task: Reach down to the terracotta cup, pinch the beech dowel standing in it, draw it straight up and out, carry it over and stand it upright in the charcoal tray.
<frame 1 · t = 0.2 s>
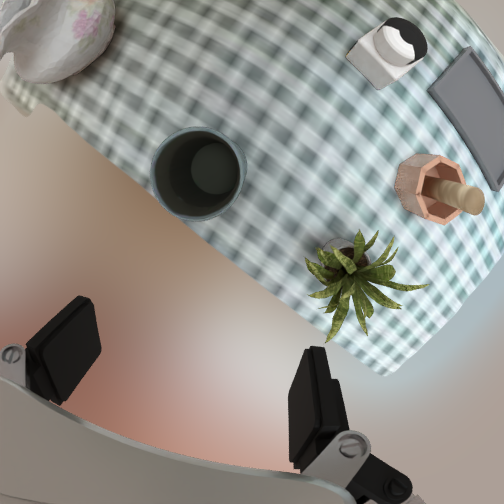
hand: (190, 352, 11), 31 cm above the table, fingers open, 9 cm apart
blue-grey plant pot: (217, 168, 38), on the table
medicine bottle: (375, 62, 31), on the table
dowel: (422, 185, 35), point 1 cm above the table, touching cup
cup: (419, 184, 36), on the table
tray: (483, 117, 30), on the table
ceramic pitcher: (88, 37, 31), on the table
house plant: (344, 248, 41), on the table
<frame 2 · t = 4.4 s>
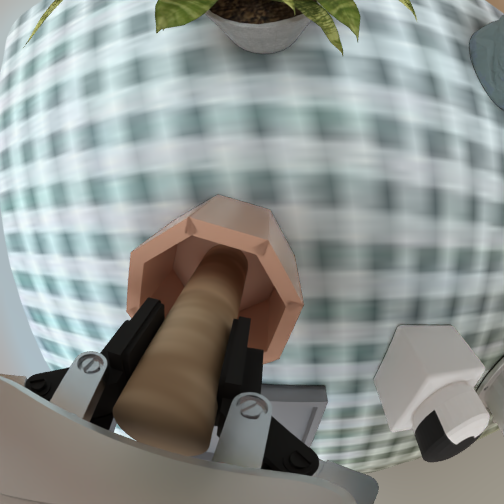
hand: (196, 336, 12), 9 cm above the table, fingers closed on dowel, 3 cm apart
blue-grey plant pot: (497, 69, 12), on the table
medicine bottle: (413, 352, 23), on the table
dowel: (225, 265, 19), point 1 cm above the table, touching cup, gripper
cup: (227, 260, 20), on the table
tray: (217, 422, 28), on the table
house plant: (261, 40, 15), on the table
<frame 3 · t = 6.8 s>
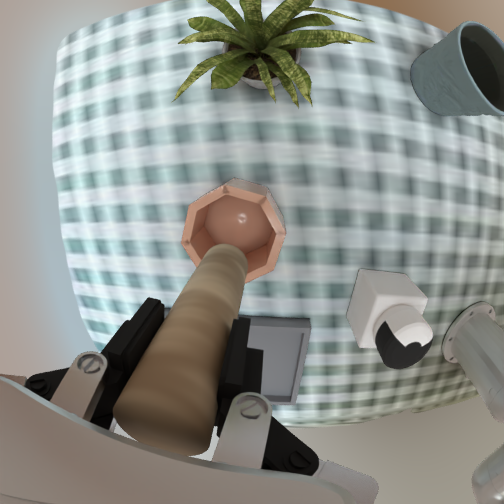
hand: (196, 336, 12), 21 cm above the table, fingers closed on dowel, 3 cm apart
blue-grey plant pot: (435, 83, 24), on the table
medicine bottle: (375, 294, 34), on the table
dowel: (225, 265, 19), point 13 cm above the table, touching gripper
cup: (239, 219, 31), on the table
tray: (227, 358, 39), on the table
house plant: (262, 79, 26), on the table
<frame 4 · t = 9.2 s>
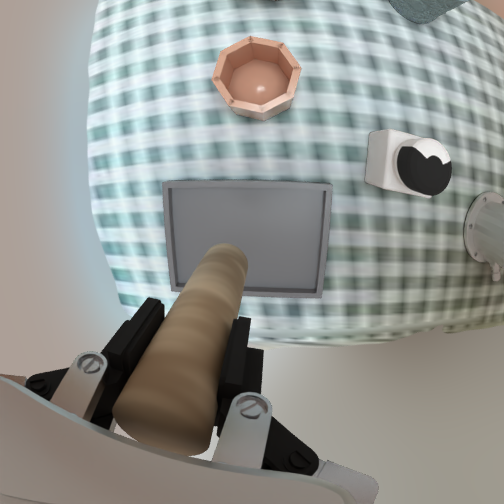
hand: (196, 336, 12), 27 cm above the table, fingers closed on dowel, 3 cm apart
blue-grey plant pot: (409, 3, 23), on the table
medicine bottle: (388, 161, 33), on the table
dowel: (225, 265, 19), point 19 cm above the table, touching gripper
cup: (259, 87, 31), on the table
tray: (246, 237, 38), on the table
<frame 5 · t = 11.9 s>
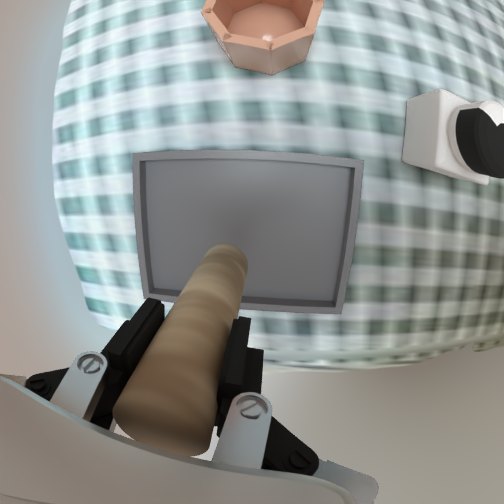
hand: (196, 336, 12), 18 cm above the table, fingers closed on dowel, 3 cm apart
medicine bottle: (430, 138, 23), on the table
dowel: (225, 265, 19), point 9 cm above the table, touching gripper
cup: (265, 35, 21), on the table
tray: (243, 229, 28), on the table
when the fingers open (10 cm above the table, at t = 14.1 s): dowel stays where it is, resting on tray.
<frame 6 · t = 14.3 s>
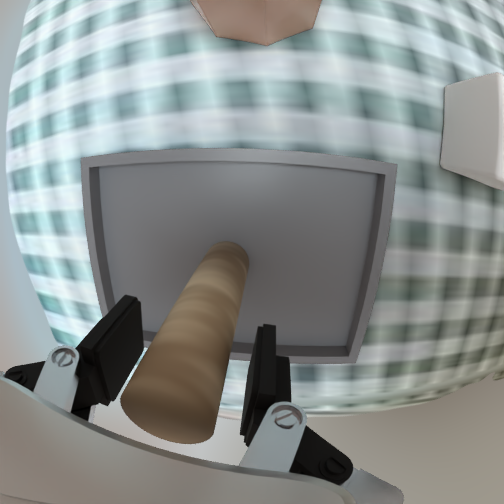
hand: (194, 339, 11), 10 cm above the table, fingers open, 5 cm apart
medicine bottle: (470, 137, 16), on the table
dowel: (227, 262, 20), point 1 cm above the table, touching tray
tray: (228, 258, 21), on the table
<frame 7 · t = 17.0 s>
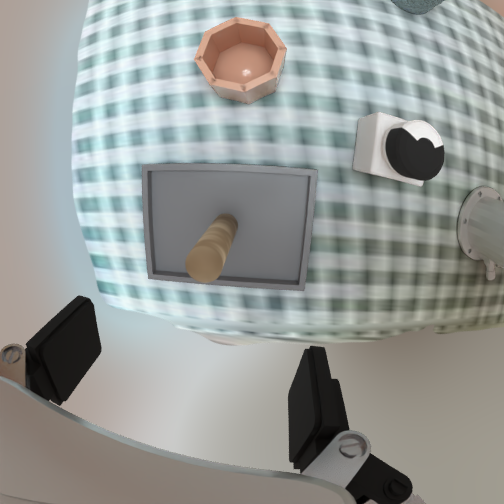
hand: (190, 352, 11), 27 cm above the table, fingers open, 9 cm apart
medicine bottle: (378, 149, 32), on the table
dowel: (225, 225, 36), point 1 cm above the table, touching tray
cup: (245, 70, 29), on the table
tray: (226, 224, 37), on the table
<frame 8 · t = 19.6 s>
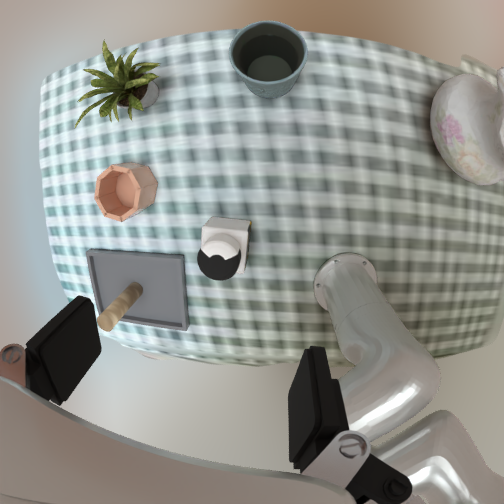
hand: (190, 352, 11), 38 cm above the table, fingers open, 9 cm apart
blue-grey plant pot: (269, 74, 39), on the table
medicine bottle: (229, 237, 49), on the table
dowel: (136, 288, 54), point 1 cm above the table, touching tray
cup: (135, 187, 47), on the table
tray: (137, 287, 54), on the table
ceramic pitcher: (454, 134, 39), on the table
house plant: (145, 101, 42), on the table
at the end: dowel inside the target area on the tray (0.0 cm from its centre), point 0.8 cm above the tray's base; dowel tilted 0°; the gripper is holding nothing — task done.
